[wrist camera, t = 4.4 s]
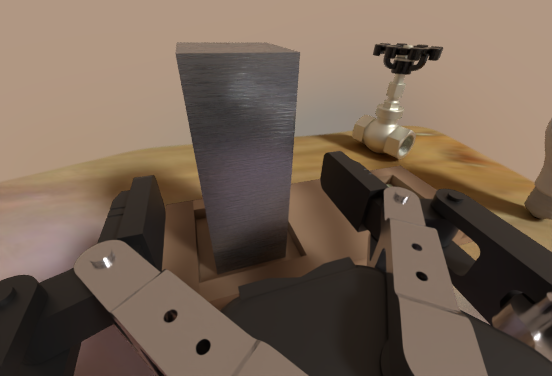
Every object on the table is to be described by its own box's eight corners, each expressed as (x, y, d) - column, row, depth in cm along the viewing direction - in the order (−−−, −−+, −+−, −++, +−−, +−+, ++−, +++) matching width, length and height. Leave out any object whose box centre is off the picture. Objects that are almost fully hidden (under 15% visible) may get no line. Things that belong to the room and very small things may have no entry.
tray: (167, 333, 13) (158, 315, 12) (171, 221, 20) (166, 204, 19) (475, 240, 19) (487, 223, 18) (395, 180, 26) (400, 165, 25)
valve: (384, 168, 28) (422, 49, 21) (341, 147, 32) (361, 43, 25) (415, 155, 31) (457, 47, 24) (372, 137, 35) (398, 42, 29)
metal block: (217, 274, 15) (175, 53, 8) (210, 225, 18) (176, 42, 12) (285, 257, 16) (300, 52, 9) (266, 214, 20) (266, 42, 13)
